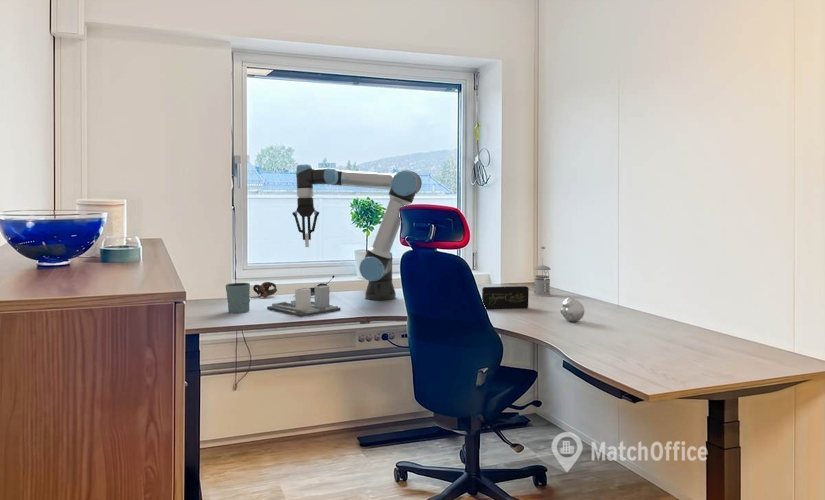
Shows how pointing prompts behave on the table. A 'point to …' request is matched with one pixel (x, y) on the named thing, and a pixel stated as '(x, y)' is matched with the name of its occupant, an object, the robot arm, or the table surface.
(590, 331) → the table surface
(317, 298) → the block
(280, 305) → the grey board
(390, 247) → the robot arm
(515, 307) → the nameplate
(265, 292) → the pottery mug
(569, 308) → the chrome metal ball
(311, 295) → the headset
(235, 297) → the green tapered cup
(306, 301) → the white fader
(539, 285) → the french press
